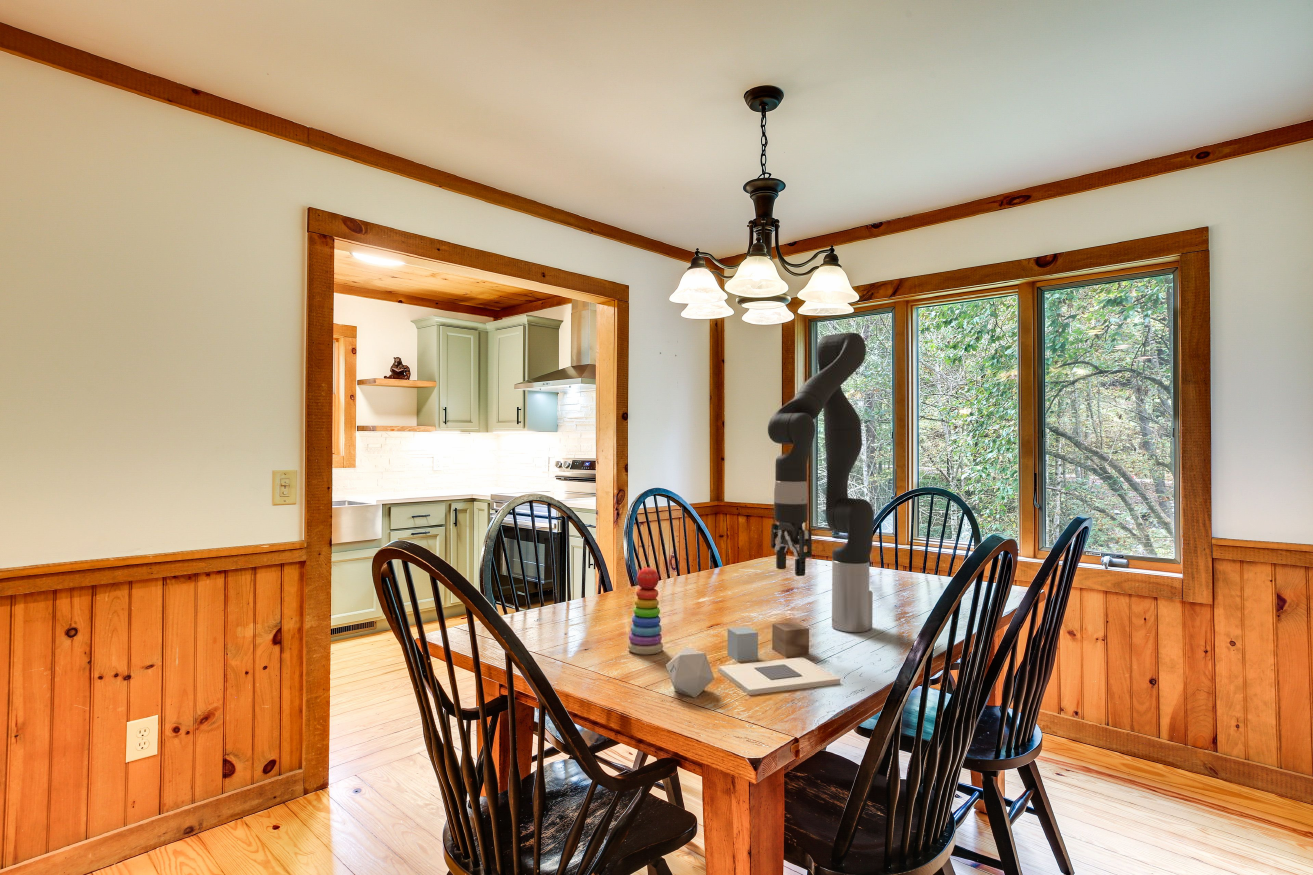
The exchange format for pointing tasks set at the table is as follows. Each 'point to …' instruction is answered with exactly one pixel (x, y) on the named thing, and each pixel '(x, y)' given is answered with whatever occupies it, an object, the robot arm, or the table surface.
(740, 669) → the cream board
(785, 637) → the walnut block
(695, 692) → the die
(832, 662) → the table surface
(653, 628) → the stacking toy
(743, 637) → the slate block
